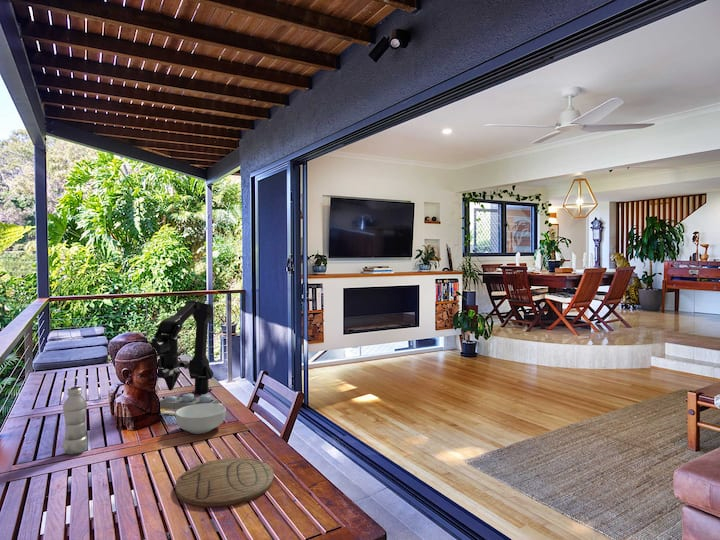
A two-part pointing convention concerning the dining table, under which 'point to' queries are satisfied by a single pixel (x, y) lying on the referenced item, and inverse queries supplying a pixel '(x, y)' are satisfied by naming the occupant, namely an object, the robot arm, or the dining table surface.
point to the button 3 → (205, 398)
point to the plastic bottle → (75, 422)
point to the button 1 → (171, 398)
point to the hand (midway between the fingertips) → (170, 390)
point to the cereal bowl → (200, 417)
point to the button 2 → (188, 398)
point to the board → (178, 405)
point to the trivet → (224, 482)
